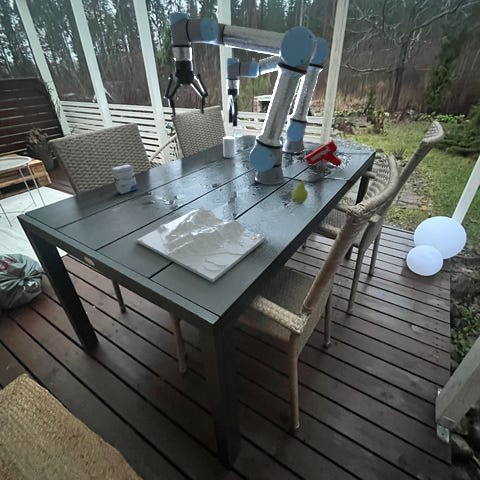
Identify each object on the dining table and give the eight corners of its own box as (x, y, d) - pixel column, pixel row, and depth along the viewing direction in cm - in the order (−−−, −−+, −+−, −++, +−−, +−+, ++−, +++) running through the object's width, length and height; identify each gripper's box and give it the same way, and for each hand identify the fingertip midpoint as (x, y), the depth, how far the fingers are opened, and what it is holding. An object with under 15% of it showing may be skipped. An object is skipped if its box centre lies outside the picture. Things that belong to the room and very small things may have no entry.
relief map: (212, 282, 77) (211, 268, 74) (137, 242, 94) (134, 229, 91) (264, 240, 95) (265, 227, 92) (193, 213, 113) (192, 201, 110)
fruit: (288, 200, 123) (290, 174, 116) (302, 197, 125) (305, 172, 119) (296, 206, 118) (299, 179, 111) (310, 203, 120) (314, 177, 114)
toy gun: (345, 161, 161) (332, 139, 157) (345, 163, 157) (332, 140, 153) (317, 176, 171) (305, 156, 167) (317, 178, 167) (304, 158, 163)
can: (232, 154, 188) (232, 136, 182) (236, 157, 182) (236, 138, 176) (222, 155, 186) (221, 137, 179) (226, 158, 180) (225, 139, 173)
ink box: (133, 186, 138) (127, 163, 132) (137, 189, 135) (132, 165, 129) (116, 191, 133) (110, 167, 127) (121, 194, 130) (114, 170, 124)
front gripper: (207, 60, 123) (210, 111, 134) (151, 60, 114) (160, 115, 125) (213, 60, 117) (216, 113, 129) (155, 59, 108) (163, 117, 119)
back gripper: (223, 86, 177) (223, 121, 189) (230, 89, 157) (231, 128, 168) (234, 86, 179) (234, 121, 190) (243, 89, 158) (242, 128, 170)
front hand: (188, 114), depth 127 cm, fingers open, 13 cm apart
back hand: (232, 124), depth 179 cm, fingers open, 13 cm apart
